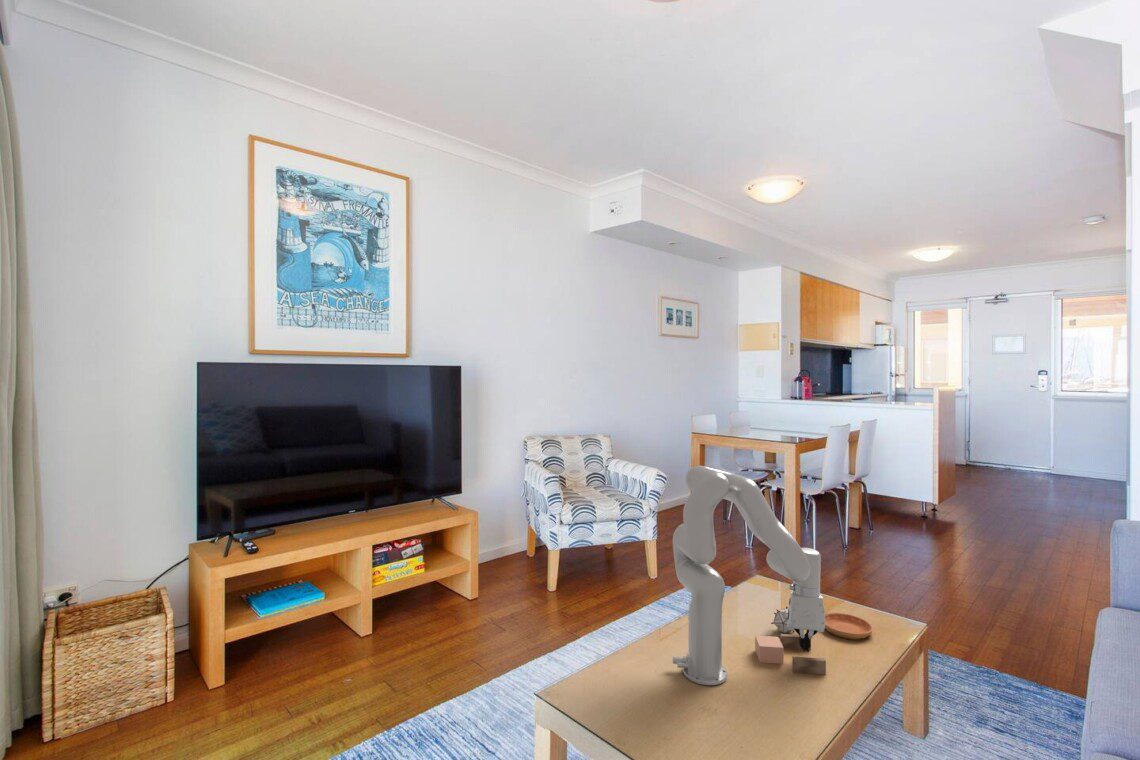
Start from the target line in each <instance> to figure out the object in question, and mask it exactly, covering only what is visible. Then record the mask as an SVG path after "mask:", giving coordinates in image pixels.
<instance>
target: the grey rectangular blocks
mask: <svg viewBox="0 0 1140 760" xmlns="http://www.w3.org/2000/svg"><path fill="white" fill-rule="evenodd" d="M779 640H780V642H781V644H782V646H783V648H784V649H785V650H786V649H787V650H802V648H801V647H800V646H799V634H791V633H785V634H783V633H780V637H779ZM809 651H812V647H811V648H809ZM791 663H792V665H791V666H792V672H793V674H795V673H796V674H809V675H810V674H813V675H824V676H825V675H827V674H826V673H827V669H826V668H827V660H826V659H825V658H824V657H822V658H821V657H820V658H819V657H808V656H807V657H806V656H805V657H804V656H792V662H791Z"/></svg>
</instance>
